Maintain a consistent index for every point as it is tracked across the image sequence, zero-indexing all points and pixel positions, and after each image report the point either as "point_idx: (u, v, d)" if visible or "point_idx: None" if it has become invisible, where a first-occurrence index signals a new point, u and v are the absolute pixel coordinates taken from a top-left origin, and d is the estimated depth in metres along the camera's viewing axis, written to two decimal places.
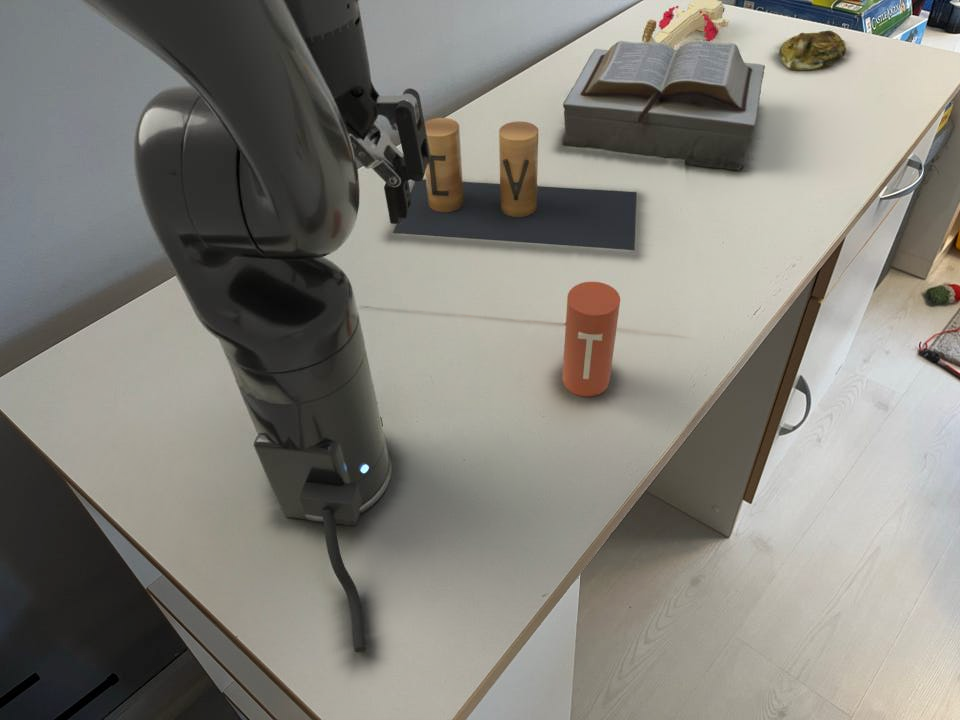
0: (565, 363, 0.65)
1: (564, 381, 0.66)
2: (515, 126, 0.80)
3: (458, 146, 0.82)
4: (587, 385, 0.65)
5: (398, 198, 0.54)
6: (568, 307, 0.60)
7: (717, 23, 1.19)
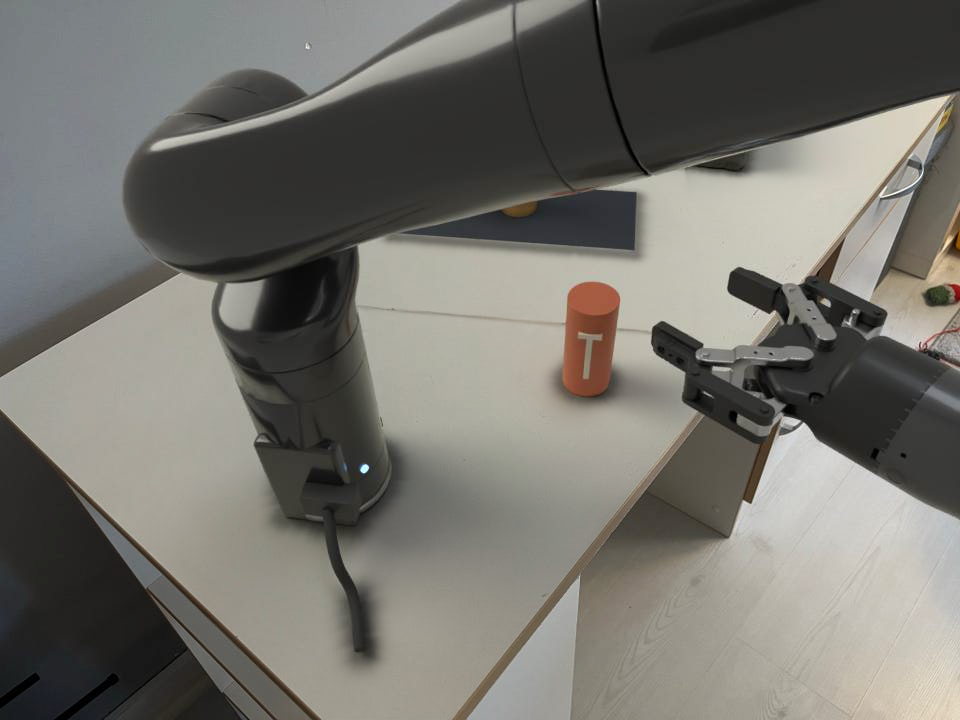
0: (565, 363, 0.65)
1: (564, 381, 0.66)
2: None
3: None
4: (587, 385, 0.65)
5: (679, 345, 0.47)
6: (568, 307, 0.60)
7: None
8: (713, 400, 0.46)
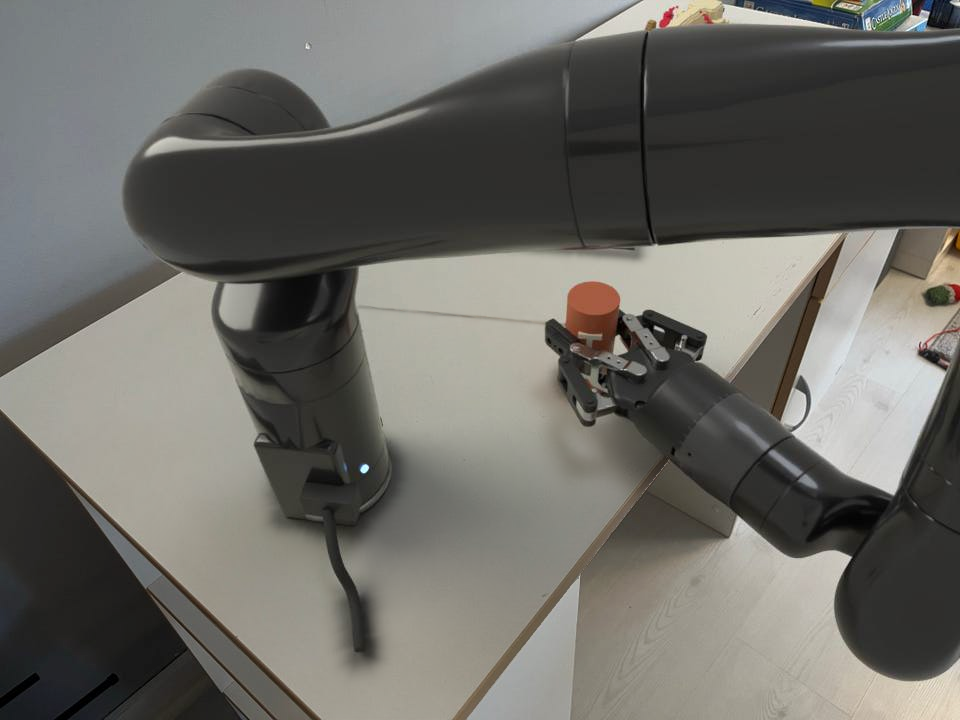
0: None
1: None
2: None
3: None
4: None
5: (562, 339, 0.61)
6: (568, 307, 0.60)
7: (717, 23, 1.19)
8: None
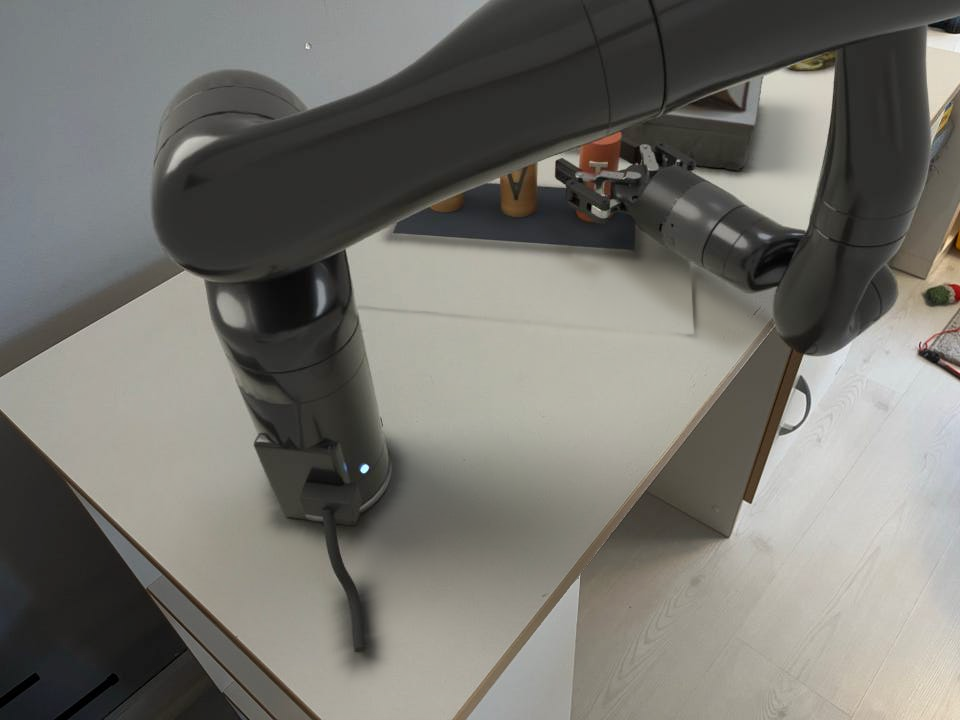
0: None
1: (577, 212, 0.85)
2: None
3: None
4: None
5: (568, 171, 0.78)
6: None
7: None
8: None
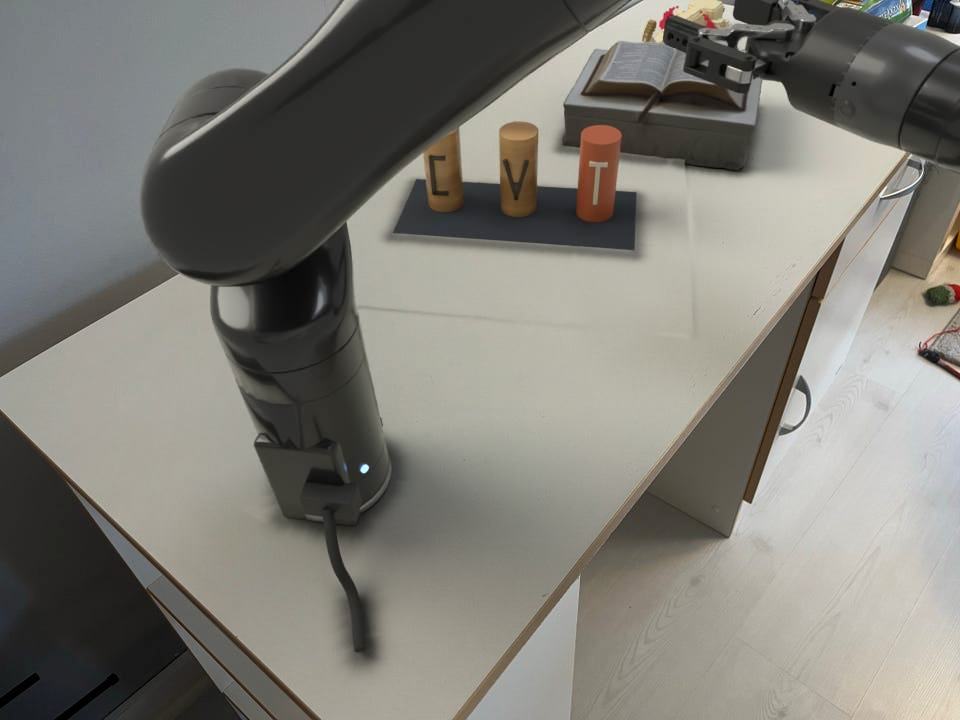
0: (578, 194, 0.83)
1: (577, 212, 0.85)
2: (515, 126, 0.80)
3: (458, 146, 0.82)
4: (596, 211, 0.83)
5: (686, 30, 0.57)
6: (582, 141, 0.78)
7: (717, 23, 1.19)
8: None
